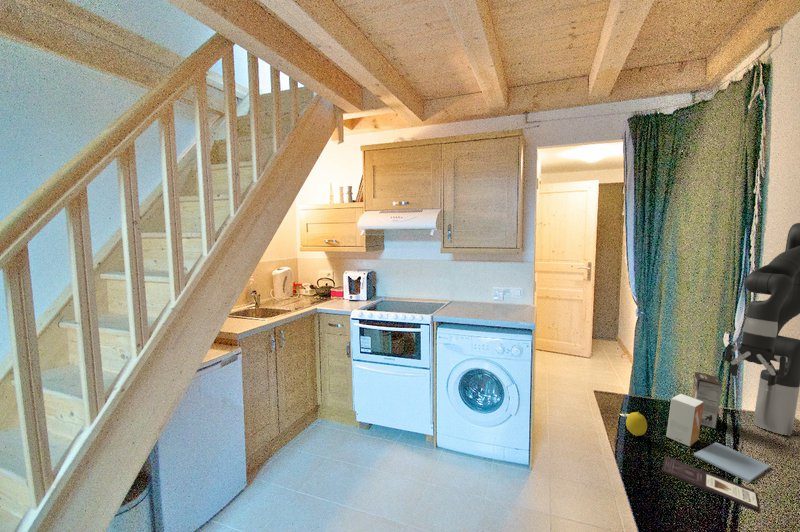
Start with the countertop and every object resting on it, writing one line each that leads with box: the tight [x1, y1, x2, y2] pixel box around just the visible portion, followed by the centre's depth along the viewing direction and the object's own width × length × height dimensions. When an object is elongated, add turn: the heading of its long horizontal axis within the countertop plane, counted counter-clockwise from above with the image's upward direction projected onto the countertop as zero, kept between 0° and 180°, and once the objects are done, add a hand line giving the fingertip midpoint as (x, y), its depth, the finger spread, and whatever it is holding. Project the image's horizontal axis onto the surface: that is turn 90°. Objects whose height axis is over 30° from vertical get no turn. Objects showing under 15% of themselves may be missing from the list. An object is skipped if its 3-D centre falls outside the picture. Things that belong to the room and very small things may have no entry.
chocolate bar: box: [661, 455, 759, 512], centre depth 88 cm, size 9×1×18 cm
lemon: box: [625, 411, 648, 437], centre depth 108 cm, size 6×6×8 cm
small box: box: [665, 393, 704, 447], centre depth 108 cm, size 8×6×13 cm
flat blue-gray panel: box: [693, 441, 771, 483], centre depth 97 cm, size 15×12×1 cm
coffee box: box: [691, 371, 723, 429], centre depth 121 cm, size 9×6×16 cm
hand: (751, 380), depth 111 cm, fingers open, 8 cm apart
